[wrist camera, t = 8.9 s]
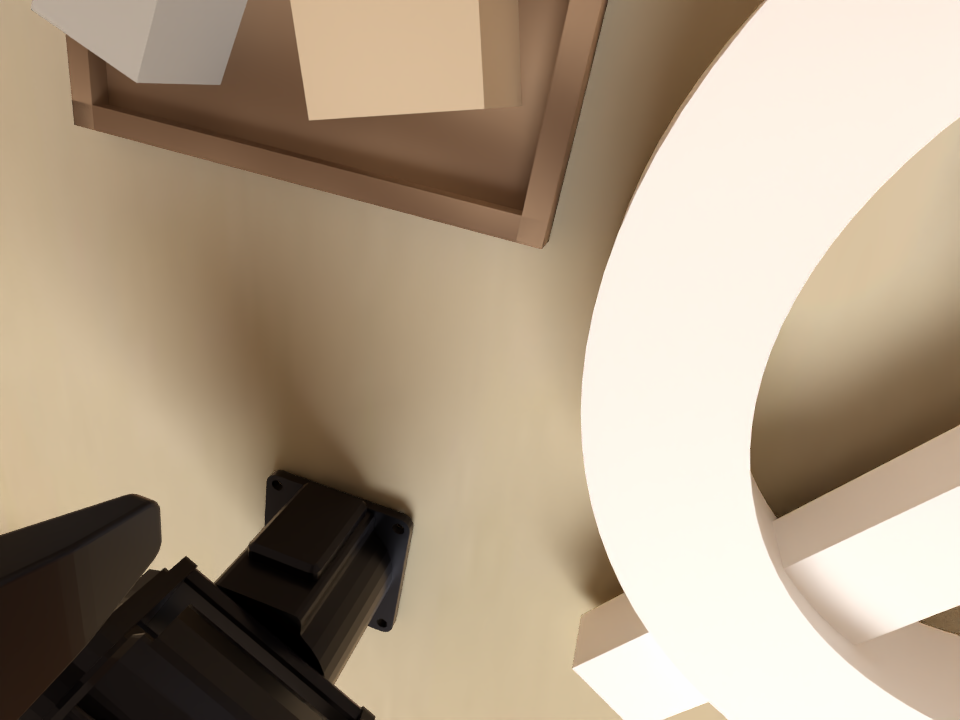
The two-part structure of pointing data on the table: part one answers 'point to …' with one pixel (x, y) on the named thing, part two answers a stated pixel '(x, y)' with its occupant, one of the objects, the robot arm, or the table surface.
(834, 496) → the ring with crossbar
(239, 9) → the beige cube
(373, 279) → the table surface
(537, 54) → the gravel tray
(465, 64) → the tan cube
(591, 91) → the table surface
